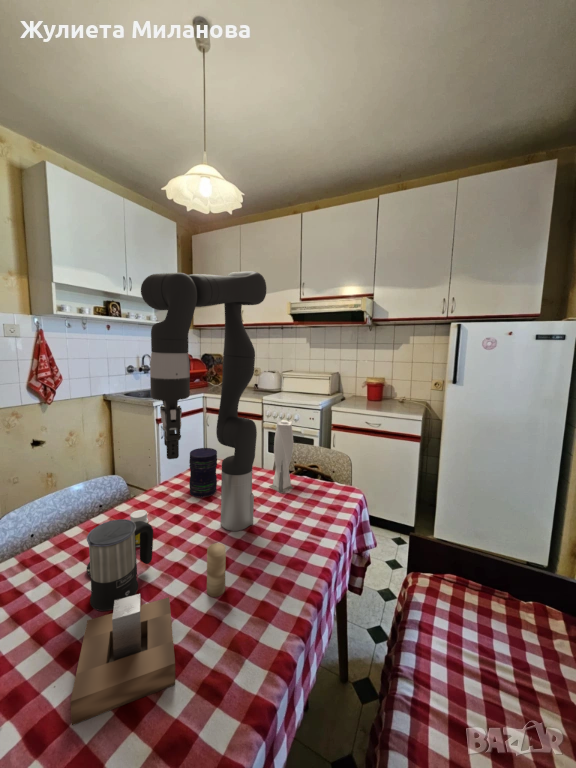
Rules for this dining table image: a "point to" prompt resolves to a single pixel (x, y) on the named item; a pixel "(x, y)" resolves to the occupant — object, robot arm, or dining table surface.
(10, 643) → the dining table surface
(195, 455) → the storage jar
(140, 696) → the bore block
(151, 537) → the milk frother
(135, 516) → the supplement bottle
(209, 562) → the round dowel
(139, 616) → the square peg
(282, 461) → the skyscraper
